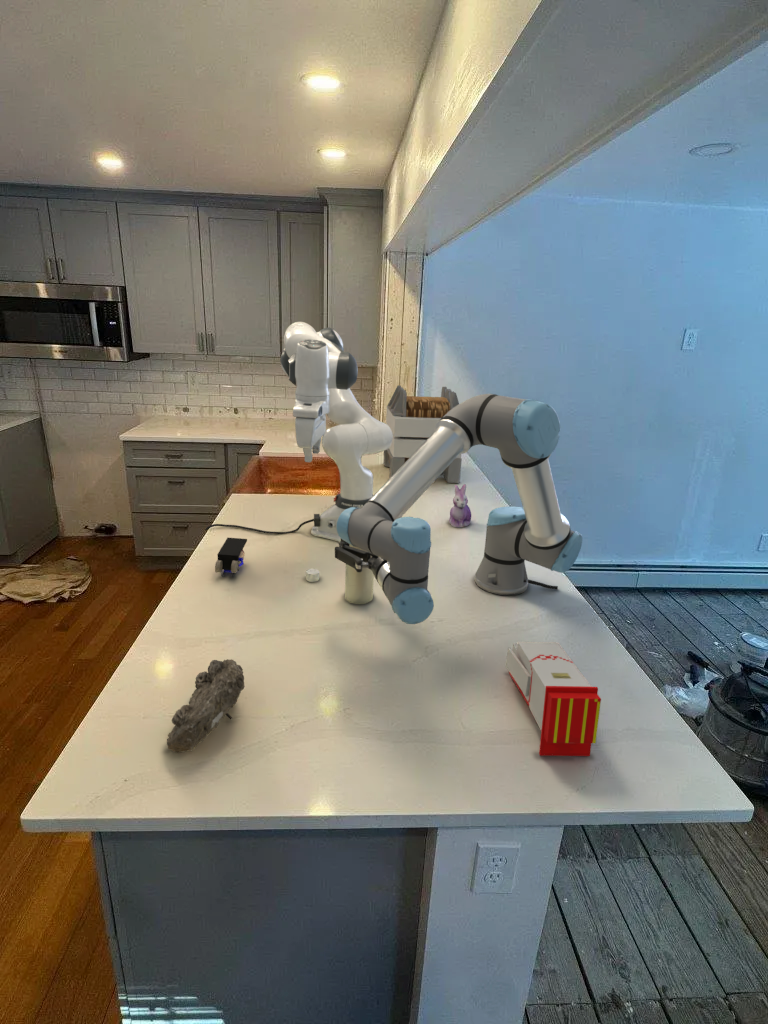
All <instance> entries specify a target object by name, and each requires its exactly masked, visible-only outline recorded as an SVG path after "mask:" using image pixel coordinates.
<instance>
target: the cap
mask: <svg viewBox="0 0 768 1024" xmlns="http://www.w3.org/2000/svg"><path fill="white" fill-rule="evenodd" d="M305 580H306V581H307V582H310V583H315V582H318V581H319V580H320V570H319V569H318V568H308V569H307V570H306V571H305Z"/></svg>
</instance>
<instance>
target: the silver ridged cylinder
mask: <svg viewBox="0 0 768 1024" xmlns="http://www.w3.org/2000/svg"><path fill="white" fill-rule="evenodd" d="M362 507H363V506H360V507H357V508H360V509H361V508H362ZM349 546H350V547H353V548H356V549H360V550H363V549H361V548H358V547H354V546H352V545H351V544H349ZM363 551H365V550H363ZM366 552H368V551H366ZM371 557H372V556H371ZM344 572H345V575H344V579H345V580H344V599H345V601H347V602H348V603H351V604H353V605H365V604H369V603H370V602H372V600H373V599H374V581H375V580H374V578H375V577H374V574H373V572H372V570H370V569H369V568H363V569H362V572H357V571H356V570H355V569H354V568H353V567H351V566H349V565H347V564H345V571H344Z"/></svg>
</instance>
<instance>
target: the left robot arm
mask: <svg viewBox="0 0 768 1024" xmlns="http://www.w3.org/2000/svg"><path fill="white" fill-rule="evenodd" d="M283 347H284V348H283V351H282V353H281V355H280V358H279V361H280V366H281V369H282V371H283V373H284V374H285V376H287V377H288V381H290V383H291V384H293V385H294V386H295V387H296V388H295V392H294V406H293V408H292V417H293V418H295V420H294V426H295V440H296V445H297V447H298V448H299V449H302V451H303V455H304V462H305V463H311V462H312V461H313V454H316V455H318V454H319V453H320V452H321V447H322V450H323V452H324V453H325V455H326V456H328V457H329V458H330V459H332V461H333V462H334V463H335V465H336V466H337V470H338V472H339V482H340V484H339V485H340V488H339V489H340V490H339V491H338V492H337V494H336V495H335V496H334V497H333V502H334V504H333V505H331V506H329V507H328V508H326V509H325V510H323V512H321V514H320V513H313V518H312V519H308V520H306V521H304V522H303V521H302V522H301V523H300V524H299V525H298V526H297V528H295V529H293V530H290V531H270V530H269V531H268V530H263V529H257V528H253V527H247V526H242V525H237V524H225V523H224V524H223V523H213V524H210V525H209V526H207V527H206V528H205V529H204V531H209V529H211V528H213V527H222V528H223V527H225V528H237V529H241V530H242V529H243V530H247V531H252V532H257V533H262V534H268V535H269V534H270V535H285V534H294V533H296V532H298V531H299V530H301V528H302V527H303V526H304V525H306V524H309V523H312V522H313V526H312V528H311V530H310V533H311V536H315V537H319V538H323V539H326V540H330V541H336V542H338V543H339V542H341V538H340V537H339V535H338V533H337V521H338V518H339V516H340V514H341V513H342V512H343V511H344V510H345V509H348V508H350V507H355V508H357V507H360V506H364V505H365V504H366V503H367V502H368V501H369V500H370V499H371V498H372V497H373V495H374V474H373V472H372V471H371V469H369V468H368V467H366V466H364V465H363V463H362V457H364V456H370V455H371V456H372V455H378V454H380V453H382V452H384V451H385V450H387V449H388V448H389V447H390V446H391V443H392V438H393V436H392V431H391V429H390V427H389V426H388V425H387V423H386V422H383V421H381V420H378V419H377V418H376V417H374V416H372V415H371V414H370V413H369V412H367V410H366V409H364V408H363V407H362V405H361V404H360V403H359V402H358V400H357V398H356V396H355V395H354V393H353V391H352V389H351V388H352V387H353V386H354V385H355V384H356V382H357V381H358V375H359V370H358V363H357V360H356V358H355V357H354V355H353V354H352V353H351V352H349V351H345V348H344V342H343V339H342V337H341V335H340V334H339V333H338V332H337V331H336V330H335V329H333V328H332V327H330V326H328V327H324V328H322V329H320V330H319V331H316V329H315V328H314V327H313V326H312V325H310V324H309V323H307V322H304V321H295V322H293V323H291V324H289V326H288V327H287V328H286V329H285V333H284V336H283ZM327 418H328V419H329V420H330V421H331V422H333V423H334V424H336V425H335V426H332V427H329V428H327Z"/></svg>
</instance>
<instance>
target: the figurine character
mask: <svg viewBox="0 0 768 1024" xmlns="http://www.w3.org/2000/svg"><path fill="white" fill-rule="evenodd" d="M247 542H248V538H240V537H226V539H225V541H224V543H223V544H222V546H221V547H220V549H219V551H218V552H217V560H216V562H215V564H214V572H215V573H221V577H222V578H224V577H225V576H226V574H227V573H230V574H231V573H232V574H231V578H234V577H235V575H236V573H237V572H239V571H240V567H242V566H243V565H244V564H245V562H244V558H245V551H244V547H245V546H246V544H247Z"/></svg>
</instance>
